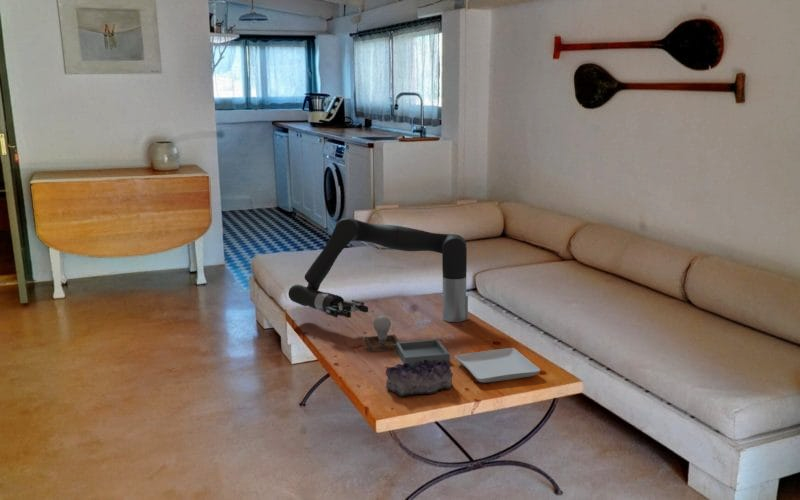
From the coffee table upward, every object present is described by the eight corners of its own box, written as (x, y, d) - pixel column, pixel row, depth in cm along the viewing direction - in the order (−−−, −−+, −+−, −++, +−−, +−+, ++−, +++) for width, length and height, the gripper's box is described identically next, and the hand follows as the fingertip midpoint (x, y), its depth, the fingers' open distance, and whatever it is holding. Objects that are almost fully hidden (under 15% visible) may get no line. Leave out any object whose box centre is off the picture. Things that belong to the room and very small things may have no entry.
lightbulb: (390, 348, 245) (390, 318, 243) (373, 348, 245) (372, 318, 243) (391, 342, 251) (390, 313, 249) (374, 342, 251) (373, 313, 249)
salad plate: (477, 388, 211) (477, 378, 210) (453, 363, 231) (453, 354, 230) (542, 380, 217) (542, 369, 216) (513, 356, 237) (513, 347, 236)
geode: (443, 377, 220) (446, 348, 216) (457, 396, 209) (460, 366, 206) (381, 383, 213) (383, 354, 210) (392, 403, 203) (394, 372, 200)
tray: (438, 347, 246) (437, 339, 245) (449, 362, 231) (449, 353, 231) (395, 350, 243) (395, 342, 242) (405, 366, 228) (405, 357, 228)
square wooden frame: (394, 339, 255) (394, 334, 254) (401, 349, 244) (400, 344, 244) (364, 341, 252) (364, 336, 252) (369, 352, 242) (369, 347, 242)
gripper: (314, 297, 259) (344, 306, 248) (343, 290, 269) (373, 298, 258) (314, 317, 260) (344, 326, 249) (343, 309, 270) (373, 317, 260)
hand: (359, 312), depth 254 cm, fingers open, 8 cm apart
